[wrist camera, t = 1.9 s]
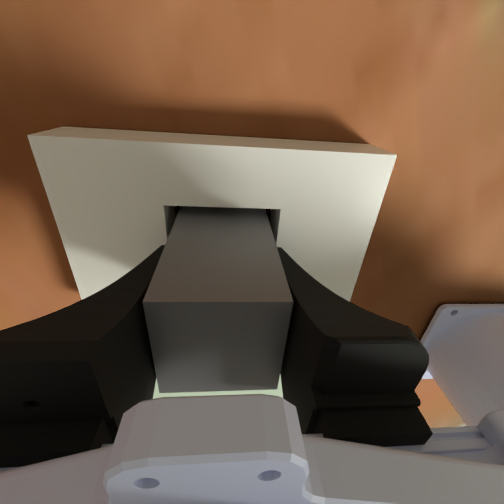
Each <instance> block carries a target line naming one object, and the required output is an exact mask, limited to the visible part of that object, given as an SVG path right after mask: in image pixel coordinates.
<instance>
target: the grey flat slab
mask: <svg viewBox="0 0 504 504" xmlns="http://www.w3.org/2000/svg"><path fill="white" fill-rule="evenodd" d="M27 137H28V140H29V143H30V146H31V149H32V152H33V155H34V158H35V161H36V164H37V167H38V170H39V173H40V176H41V179H42V182H43V185H44V188H45V191H46V194H47V197H48V200H49V203H50V206H51V209H52V212H53V215H54V218H55V221H56V224H57V227H58V230H59V233H60V236H61V239H62V242H63V245H64V248H65V251H66V254H67V257H68V260H69V263H70V266H71V269H72V272H73V275H74V278H75V281H76V284H77V287H78V290H79V293H80V296H81V299H84V298H86V297H88V296H91V295H93V294H95V293H96V292H98V291H100V290H102V289H103V288H105V287H107V286H109V285H110V284H112V283H113V282H115V281H116V280H118V279H119V278H121V277H122V276H124V275H125V274H126V273H128V272H129V271H130V270H132V269H133V268H135V267H136V266H137V265H138V264H140V263H141V262H142V261H143V260H145V259H146V258H147V257H148V256H149V255H151V254H152V253H153V252H154V251H155V250H156V249H158V248H159V247H160V246H161V245H165V244H166V242H167V239H168V237H169V234H170V232H171V229H172V227H173V224H174V222H175V219H176V209H175V206H198V207H229V208H260V209H271V213H270V222H269V223H270V226H271V229H272V233H273V236H274V239H275V243H276V246H277V247H281V248H282V249H283V250H284V251H285V252H286V253H287V254H288V255H289V256H290V257H291V258H292V259H293V260H294V261H295V262H296V263H297V264H298V265H299V266H301V267H302V268H303V269H304V270H305V271H306V272H307V273H308V274H309V275H311V276H312V277H313V278H314V279H316V280H317V281H318V282H319V283H321V284H322V285H324V286H325V287H326V288H328V289H329V290H331V291H332V292H334V293H335V294H337V295H339V296H340V297H342V298H344V299H346V300H347V301H349V302H350V299H351V296H352V293H353V290H354V287H355V284H356V281H357V278H358V275H359V271H360V268H361V265H362V262H363V259H364V256H365V253H366V250H367V247H368V244H369V241H370V237H371V234H372V231H373V228H374V225H375V222H376V219H377V216H378V213H379V210H380V207H381V203H382V200H383V197H384V194H385V191H386V188H387V185H388V182H389V179H390V176H391V172H392V169H393V166H394V163H395V160H396V157H397V155H396V154H393V153H391V152H388V151H386V150H383V149H381V148H378V147H376V146H373V145H371V144H360V143H342V142H325V141H308V140H290V139H273V138H255V137H238V136H221V135H203V134H186V133H169V132H151V131H134V130H116V129H99V128H82V127H64V126H63V127H59V128H54V129H50V130H46V131H42V132H38V133H34V134H29V135H27Z"/></svg>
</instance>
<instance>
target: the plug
mask: <svg viewBox="0 0 504 504" xmlns="http://www.w3.org/2000/svg"><path fill="white" fill-rule="evenodd" d="M143 307H144V312H145V318H146V323H147V329H148V334H149V340H150V345H151V350H152V356H153V361H154V367H155V372H156V377H157V383H158V388H159V393H181V392H212V391H243V390H274V389H277V388H278V382H279V377H280V372H281V366H282V361H283V355H284V350H285V345H286V339H287V334H288V329H289V323H290V318H291V312H292V307H293V299H292V295H291V292H290V289H289V286H288V282H287V279H286V276H285V272H284V269H283V266H282V262H281V259H280V256H279V253H278V249H277V246H276V243H275V239H274V236H273V233H272V229H271V226H270V223H269V220H268V216H267V213H266V210H265V209H260V208H229V207H198V206H181V207H180V209H179V212H178V214H177V217H176V219H175V222H174V224H173V227H172V229H171V232H170V234H169V237H168V239H167V242H166V244H165V247H164V249H163V252H162V254H161V257H160V260H159V262H158V265H157V267H156V270H155V272H154V275H153V277H152V280H151V282H150V285H149V287H148V290H147V292H146V295H145V297H144V300H143Z"/></svg>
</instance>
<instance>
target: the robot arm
mask: <svg viewBox="0 0 504 504" xmlns="http://www.w3.org/2000/svg"><path fill="white" fill-rule="evenodd" d="M164 247H165V245H161V246H160V247H159V248H158V249H156V250H155V251H154V252H153V253H152V254H151V255H149V256H148V257H147V258H146V259H145V260H143V261H142V262H141V263H140V264H138V265H137V266H136V267H135V268H133V269H132V270H130V271H129V272H128V273H126V274H125V275H124V276H122V277H121V278H119V279H118V280H116V281H115V282H113V283H112V284H110V285H109V286H107V287H105V288H103V289H102V290H100V291H98V292H96V293H95V294H93V295H91V296H88V297H86V298H84V299H82V300H80V301H78V302H76V303H74V304H72V305H70V306H68V307H65V308H63V309H61V310H58V311H56V312H53V313H51V314H48V315H46V316H43V317H40V318H37V319H35V320H32V321H29V322H26V323H23V324H20V325H16V326H13V327H10V328H7V329H4V330H1V331H0V504H504V304H444V305H441V306H440V307H439V308H438V309H437V311H436V313H435V315H434V317H433V319H432V320H431V322H430V324H429V326H428V328H427V330H426V331H425V333H424V335H423V337H422V339H421V340H420V341H419V339H418V338H417V337H416V335H415V334H414V333H413V331H412V330H411V329H410V328H409V327H408V326H405V325H402V324H399V323H397V322H394V321H391V320H389V319H386V318H383V317H381V316H378V315H376V314H374V313H372V312H369V311H367V310H365V309H363V308H361V307H359V306H357V305H355V304H353V303H351V302H349V301H347V300H346V299H344V298H342V297H340V296H339V295H337V294H335V293H334V292H332V291H331V290H329V289H328V288H326V287H325V286H324V285H322V284H321V283H319V282H318V281H317V280H316V279H314V278H313V277H312V276H311V275H309V274H308V273H307V272H306V271H305V270H304V269H303V268H302V267H301V266H299V265H298V264H297V263H296V262H295V261H294V260H293V259H292V258H291V257H290V256H289V255H288V254H287V253H286V252H285V251H284V250H283V249H282V248H281V247H277V249H278V253H279V256H280V259H281V262H282V266H283V269H284V272H285V276H286V279H287V282H288V286H289V289H290V292H291V295H292V299H293V307H292V312H291V318H290V323H289V329H288V334H287V339H286V345H285V350H284V355H283V361H282V366H281V372H280V375H281V384H282V392H283V398H281V397H280V396H274V395H266V394H239V395H210V396H180V397H160V398H155V399H153V394H154V389H155V383H156V378H157V377H156V372H155V367H154V361H153V356H152V350H151V345H150V340H149V334H148V329H147V323H146V318H145V312H144V307H143V300H144V297H145V295H146V292H147V290H148V287H149V285H150V282H151V280H152V277H153V275H154V272H155V270H156V267H157V265H158V262H159V260H160V257H161V254H162V252H163V249H164ZM421 379H434V380H435V381H436V383H437V384H438V386H439V387H440V388H441V390H442V391H443V393H444V394H445V396H446V397H447V398H448V400H449V401H450V403H451V404H452V406H453V407H454V408H455V410H456V411H457V413H458V414H459V415H460V417H461V418H462V420H463V421H464V423H465V424H466V425H467V426H464V427H444V428H430V427H429V426H428V424H427V422H426V421H425V419H424V417H423V416H422V414H421V412H420V411H419V409H418V407H417V406H420V404H421V403H420V399H419V398H418V396H417V394H416V393H415V391H414V390H415V388H416V387H417V385H418V383H419V382H420V380H421Z"/></svg>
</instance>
